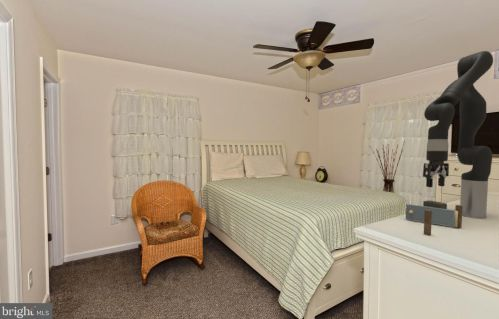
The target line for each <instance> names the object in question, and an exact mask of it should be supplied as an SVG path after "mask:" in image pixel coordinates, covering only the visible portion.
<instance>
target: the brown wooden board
mask: <svg viewBox="0 0 499 319" xmlns="http://www.w3.org/2000/svg"><path fill="white" fill-rule="evenodd" d="M462 207H463V206H461V205H460V204H455V209H454V210H455V211H458V225H457V227H455V228H456V229H462V226H463V225H462V224H463V216H462ZM431 222H432V211H430V210H425V213H424V222H423V235H426V236H431V235H432V223H431Z"/></svg>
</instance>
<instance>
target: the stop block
mask: <svg viewBox="0 0 499 319" xmlns="http://www.w3.org/2000/svg"><path fill="white" fill-rule="evenodd" d="M422 206H426V207H434V208H441V209H448V204H447V202H446V203H445V202H440V201H436V200H435V201H434V200H423V204H422Z"/></svg>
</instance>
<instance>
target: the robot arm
mask: <svg viewBox="0 0 499 319" xmlns="http://www.w3.org/2000/svg"><path fill="white" fill-rule="evenodd" d="M493 64H494V56H493V54H492V53H491V52H490V51H487V50H483V51H479V52H475V53H473V54H469V55H465V56H463V57H461V58H460V59H459V60H458V62H457V66H456V67H457V68H456V70H457V79H455V80H454V81H453V82H451V83H450V84H449V85H448V86H447V87H446V88H445V89H444V91H443V92H442V93H441V95H439V97H437V98H436V99H435V100H433V101H432V102H431V103H430V104H429V105H427V107H426V108H425V110H424V113H423V115H424V116H423V117H424V118H425V119H426V120H427V121H428V122H429V121H430V122H437V121H438V122H437V123H436V125H433V126H429V128H428V129H427V130H428V131H427V142H426V152H425V153H426V155H425V157H426V158H425V160H426V161H428V163H427V162H424V163H423V169H422V177H423V178H425V179H426V180H425V183H426V184H425V187H426V188H433V187H434V186H433V185H434V176H436V175H437V176H438V179H437V185H438V186H439V187H445V185H446V184H445V182H446V178H447V177H449V176H450V175H449V174H450V172H449V171H450V164H449V163H448V161H449V160H448V159H449V131H450V127H451V125H452V123H453V119H454V117H455V112H456V108H455V107H454V106H455V105H457V104H458V103H459V138H458V147H457V159H458V162H459V163H460V164H462V165H465V166H472V168H471V169H470V170H469V171H467V172H463V173H461V175H460V176H461V178H460V197H459V198H460V199H459V205H461V206H463V207H462V217H466V218H471V219H484V220H485V219H486V218H487V209H488V208H487V207H488V190H489V189H488V188H489V186H488V185H489V177H490V175H491V171H492V165H493V164H492V162H493V152H492V150H491V148H490V147H488V146H486V145H475V137H476V134H477V133H478V130H480V128H481V127H482V125H483V123H484V122H485V121H486V118H487V101H486V99H485V98H484V96H483V95H482V94H481V93H480V92H479V91H478V90H477V89H476V87H475V86H474V84H475V83H476V82H477V81H478V80H479V79H480V78H481V77H483V75H485V74H486V73H487V72H488V71H489V70H490V69H491V67H492V66H493Z"/></svg>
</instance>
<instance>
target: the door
mask: <svg viewBox="0 0 499 319" xmlns="http://www.w3.org/2000/svg"><path fill="white" fill-rule="evenodd" d="M425 210H430V211H432V222H431V224H435V225H440V226H446V227H447V226H448V227H452V228H456V227H457V225H458V211H455V209H448V208H447V209H441V208H434V207H426V206H423V205H417V204H412V203H411V204H410V203H409V204H408V203H406V204H405V219H406V220H410V221H411V220H412V221H418V222H422V223H424V213H425Z"/></svg>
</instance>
